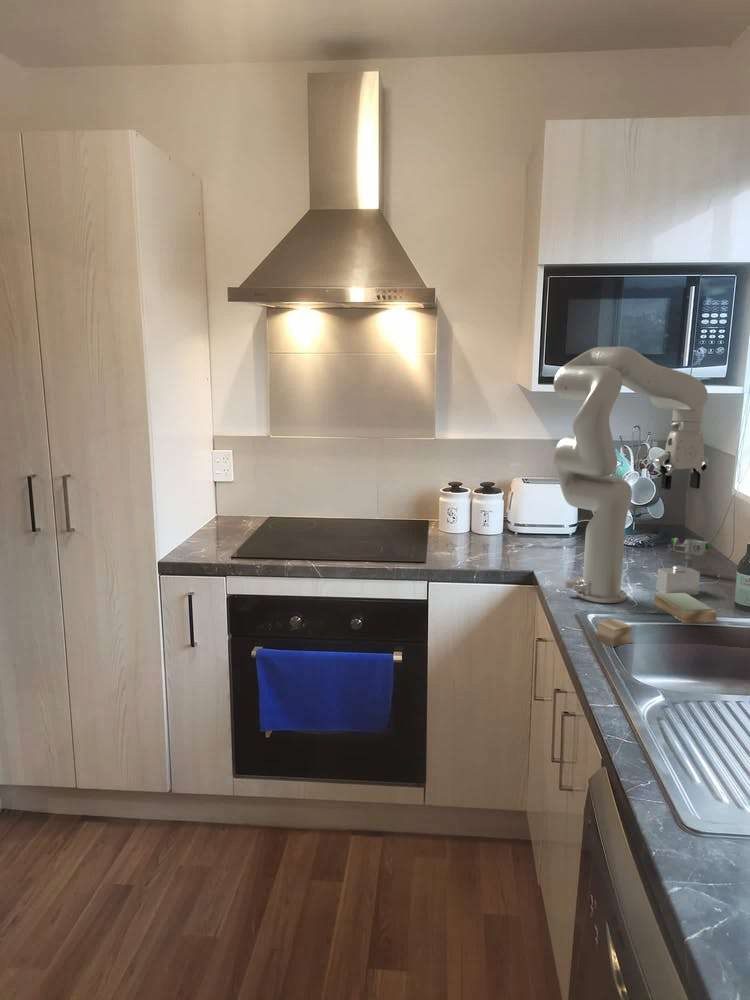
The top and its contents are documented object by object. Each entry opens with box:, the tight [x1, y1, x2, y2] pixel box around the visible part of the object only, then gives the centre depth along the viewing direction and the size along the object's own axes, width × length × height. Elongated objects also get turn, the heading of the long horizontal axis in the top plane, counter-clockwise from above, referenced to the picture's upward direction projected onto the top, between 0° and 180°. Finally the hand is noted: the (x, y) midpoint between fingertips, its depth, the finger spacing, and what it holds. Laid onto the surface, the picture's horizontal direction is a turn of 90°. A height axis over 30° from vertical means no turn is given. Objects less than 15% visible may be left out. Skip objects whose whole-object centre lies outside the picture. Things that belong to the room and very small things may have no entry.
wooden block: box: [653, 593, 718, 624], centre depth 174 cm, size 8×14×3 cm, turn 6°
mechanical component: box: [671, 537, 711, 568], centre depth 206 cm, size 3×10×10 cm, turn 51°
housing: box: [655, 564, 701, 596], centre depth 190 cm, size 9×5×7 cm, turn 96°
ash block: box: [595, 618, 633, 648], centre depth 155 cm, size 5×5×4 cm
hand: (680, 488), depth 202 cm, fingers open, 9 cm apart
